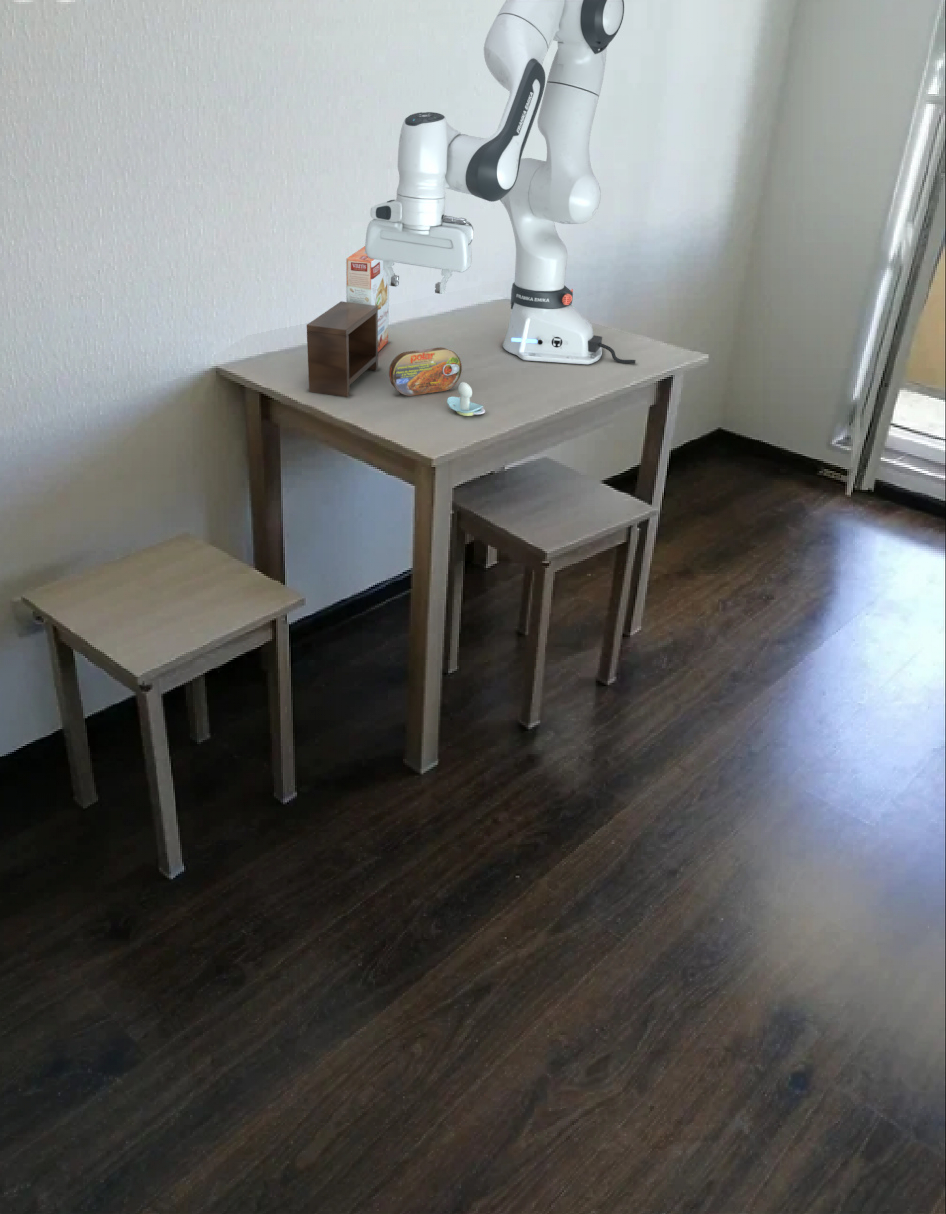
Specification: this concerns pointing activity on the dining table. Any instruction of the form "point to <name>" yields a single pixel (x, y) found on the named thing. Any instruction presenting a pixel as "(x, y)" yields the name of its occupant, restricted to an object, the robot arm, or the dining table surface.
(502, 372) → the dining table surface
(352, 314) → the brown hollow box
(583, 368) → the dining table surface
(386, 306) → the cracker box
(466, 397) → the pacifier
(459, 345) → the dining table surface
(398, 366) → the tin
